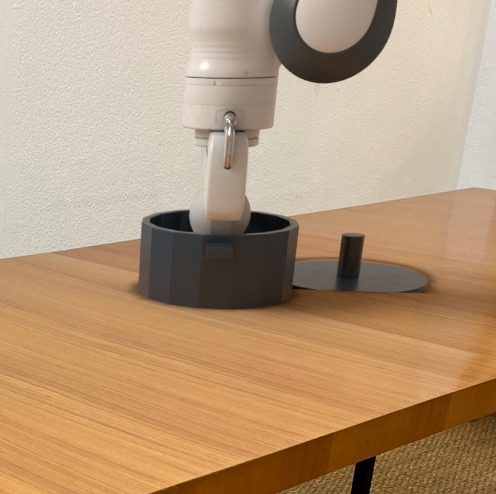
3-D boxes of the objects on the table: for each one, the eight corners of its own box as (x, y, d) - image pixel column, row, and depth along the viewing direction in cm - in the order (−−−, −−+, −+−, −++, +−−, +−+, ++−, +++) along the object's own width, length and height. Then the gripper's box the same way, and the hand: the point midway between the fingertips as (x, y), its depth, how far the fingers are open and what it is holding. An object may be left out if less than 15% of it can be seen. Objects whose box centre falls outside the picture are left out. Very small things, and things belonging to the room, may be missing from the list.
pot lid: (410, 272, 123) (418, 222, 121) (440, 307, 108) (450, 251, 106) (265, 268, 126) (270, 220, 124) (275, 302, 111) (281, 247, 109)
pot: (281, 283, 119) (289, 206, 115) (296, 332, 100) (307, 242, 97) (142, 279, 122) (146, 203, 118) (132, 326, 103) (137, 238, 99)
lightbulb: (193, 283, 114) (200, 178, 109) (249, 288, 111) (259, 180, 107) (177, 295, 109) (184, 185, 104) (235, 300, 106) (245, 188, 102)
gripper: (268, 117, 93) (253, 273, 99) (256, 101, 111) (244, 234, 117) (195, 117, 94) (185, 272, 100) (196, 101, 112) (187, 232, 118)
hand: (217, 251), depth 109 cm, fingers closed on lightbulb, 5 cm apart
